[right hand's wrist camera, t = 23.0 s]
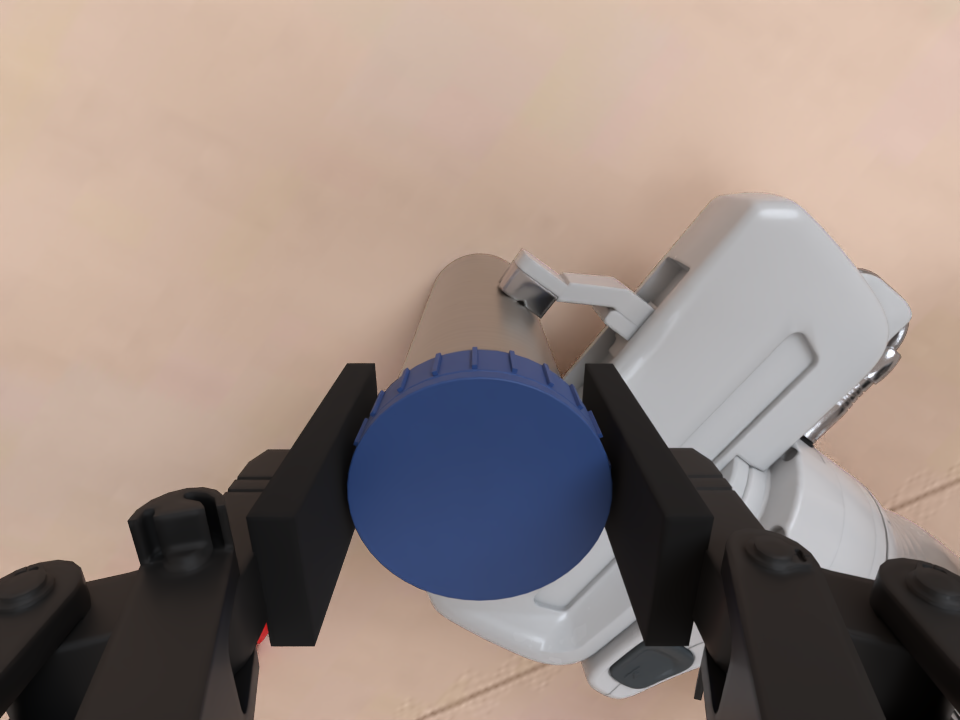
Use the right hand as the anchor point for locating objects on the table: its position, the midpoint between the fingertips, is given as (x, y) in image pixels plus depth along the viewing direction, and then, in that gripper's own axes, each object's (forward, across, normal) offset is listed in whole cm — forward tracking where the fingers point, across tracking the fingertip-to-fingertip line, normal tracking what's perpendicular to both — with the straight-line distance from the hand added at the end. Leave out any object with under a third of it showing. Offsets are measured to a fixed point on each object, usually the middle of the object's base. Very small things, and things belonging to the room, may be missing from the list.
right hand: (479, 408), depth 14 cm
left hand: (+5, -1, 0) cm, 5 cm away
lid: (-4, 0, 0) cm, 4 cm away
